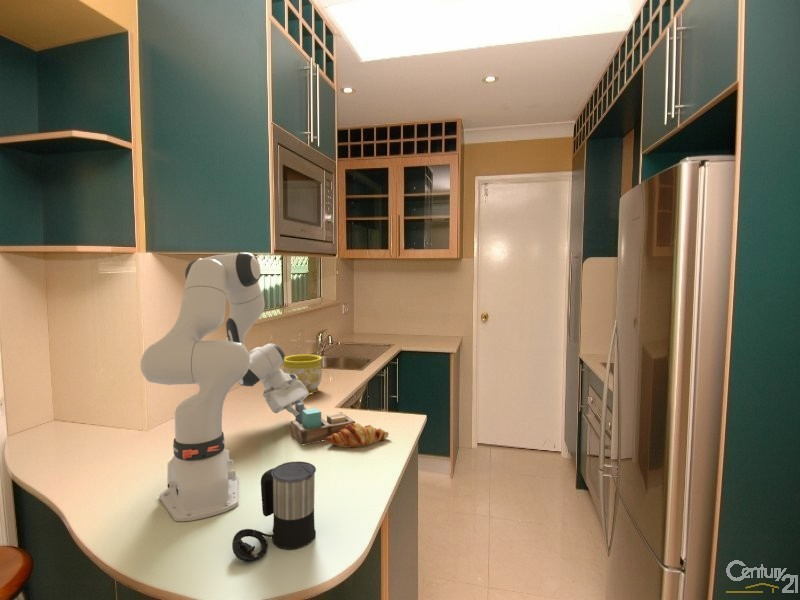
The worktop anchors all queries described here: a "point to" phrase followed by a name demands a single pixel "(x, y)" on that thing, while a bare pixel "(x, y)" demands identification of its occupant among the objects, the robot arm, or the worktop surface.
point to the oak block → (335, 418)
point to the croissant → (357, 436)
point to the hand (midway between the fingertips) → (301, 413)
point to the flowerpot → (305, 370)
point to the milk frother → (283, 510)
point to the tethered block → (308, 416)
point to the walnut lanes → (318, 430)
